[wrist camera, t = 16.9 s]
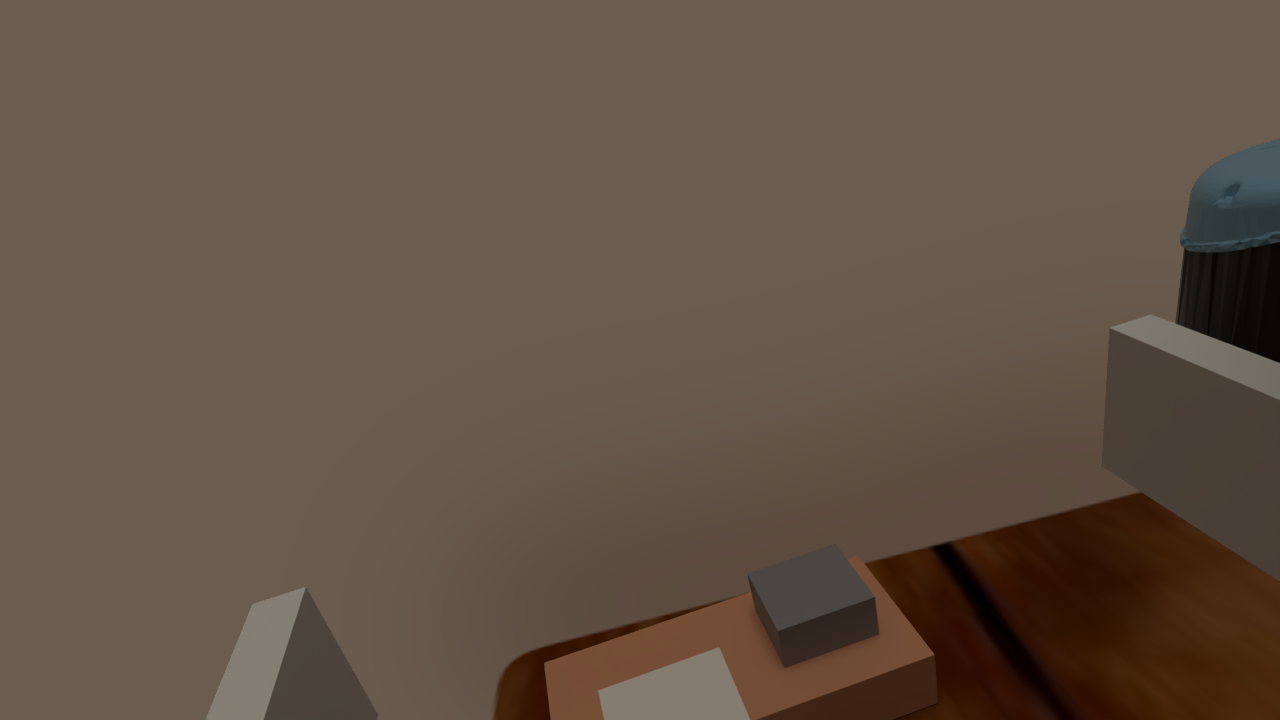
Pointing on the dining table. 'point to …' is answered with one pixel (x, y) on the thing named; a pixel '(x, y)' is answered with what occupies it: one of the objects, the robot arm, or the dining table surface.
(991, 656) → the dining table surface
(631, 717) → the tall grey brick
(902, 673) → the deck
